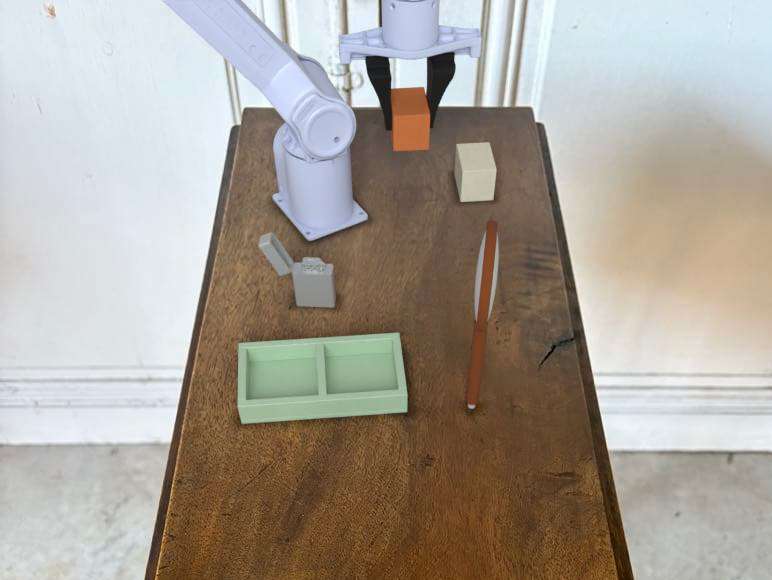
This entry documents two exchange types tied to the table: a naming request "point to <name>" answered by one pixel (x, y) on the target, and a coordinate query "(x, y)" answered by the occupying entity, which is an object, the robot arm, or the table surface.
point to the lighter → (302, 274)
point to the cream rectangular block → (475, 172)
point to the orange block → (410, 119)
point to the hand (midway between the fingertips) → (408, 124)
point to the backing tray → (321, 378)
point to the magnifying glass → (482, 307)
